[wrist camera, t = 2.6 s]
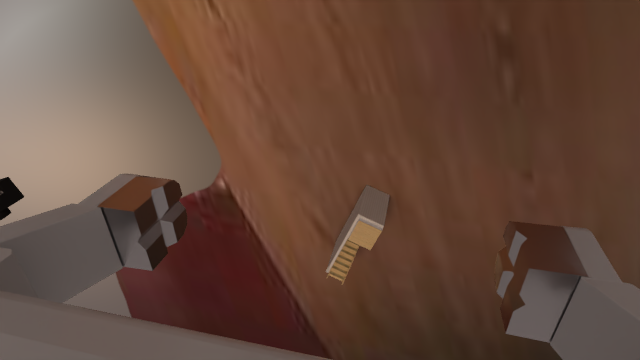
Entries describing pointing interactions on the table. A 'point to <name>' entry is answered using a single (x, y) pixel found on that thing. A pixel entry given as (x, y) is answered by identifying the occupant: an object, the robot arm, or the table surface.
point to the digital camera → (8, 196)
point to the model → (359, 231)
